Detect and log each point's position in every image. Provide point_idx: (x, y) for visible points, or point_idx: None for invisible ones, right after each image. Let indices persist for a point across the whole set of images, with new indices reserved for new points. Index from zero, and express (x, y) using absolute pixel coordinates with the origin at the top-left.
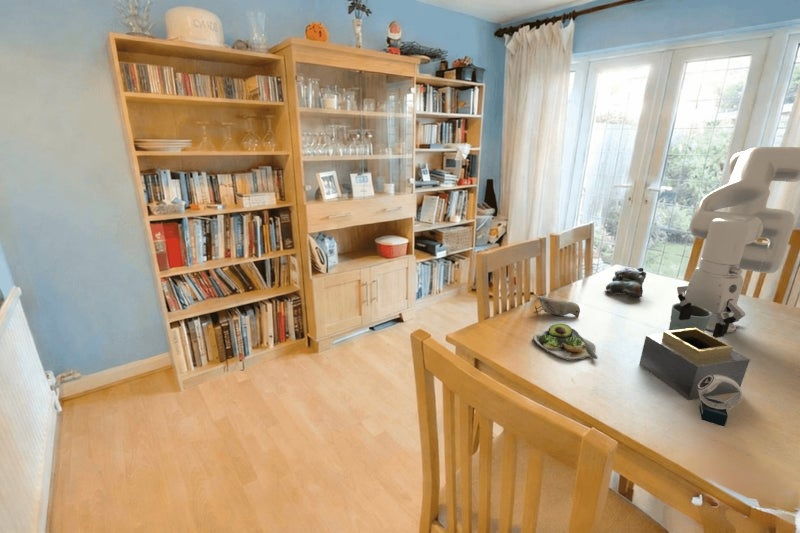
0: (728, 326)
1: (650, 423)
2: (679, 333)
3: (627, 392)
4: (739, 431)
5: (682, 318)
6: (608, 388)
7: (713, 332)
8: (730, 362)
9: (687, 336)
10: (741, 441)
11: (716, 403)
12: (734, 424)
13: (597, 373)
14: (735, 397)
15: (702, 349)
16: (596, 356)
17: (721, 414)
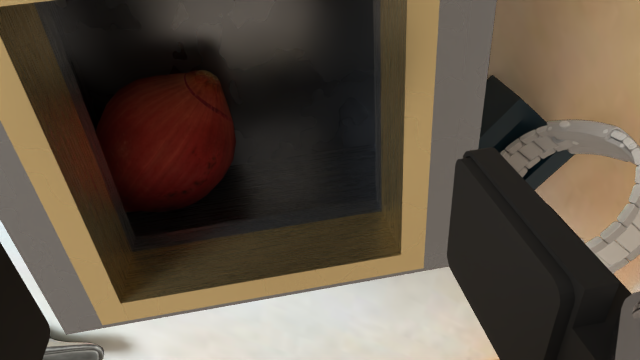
0: (621, 285)
1: (454, 314)
2: (84, 192)
3: (313, 310)
4: (582, 90)
5: (40, 341)
6: (284, 349)
7: (466, 294)
8: (492, 23)
9: (56, 70)
10: (610, 124)
11: (518, 145)
12: (554, 77)
13: (192, 351)
14: (607, 146)
15: (407, 234)
16: (88, 350)
17: (559, 165)
